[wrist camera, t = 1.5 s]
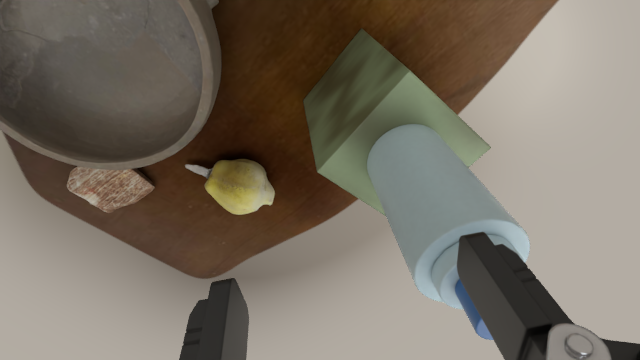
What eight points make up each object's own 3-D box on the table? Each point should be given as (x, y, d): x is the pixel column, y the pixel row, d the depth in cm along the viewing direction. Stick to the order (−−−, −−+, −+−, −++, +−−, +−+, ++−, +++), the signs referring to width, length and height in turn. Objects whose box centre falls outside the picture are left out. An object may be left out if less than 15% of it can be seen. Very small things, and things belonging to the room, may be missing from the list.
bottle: (444, 115, 23) (594, 259, 12) (442, 183, 26) (561, 344, 15) (362, 133, 23) (440, 292, 12) (370, 198, 26) (438, 370, 15)
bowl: (223, -81, 27) (200, -95, 19) (235, 127, 37) (224, 179, 28) (-25, -106, 25) (-175, -134, 16) (58, 123, 34) (-10, 178, 26)
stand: (361, 28, 33) (409, 70, 21) (422, 85, 37) (491, 147, 25) (302, 100, 36) (316, 172, 24) (364, 146, 40) (401, 226, 28)
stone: (144, 181, 42) (162, 186, 38) (106, 219, 39) (122, 228, 36) (95, 137, 37) (110, 138, 34) (49, 177, 35) (60, 182, 31)
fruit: (191, 136, 37) (283, 157, 38) (193, 172, 41) (275, 191, 42) (170, 176, 33) (273, 199, 34) (175, 211, 37) (266, 231, 38)
